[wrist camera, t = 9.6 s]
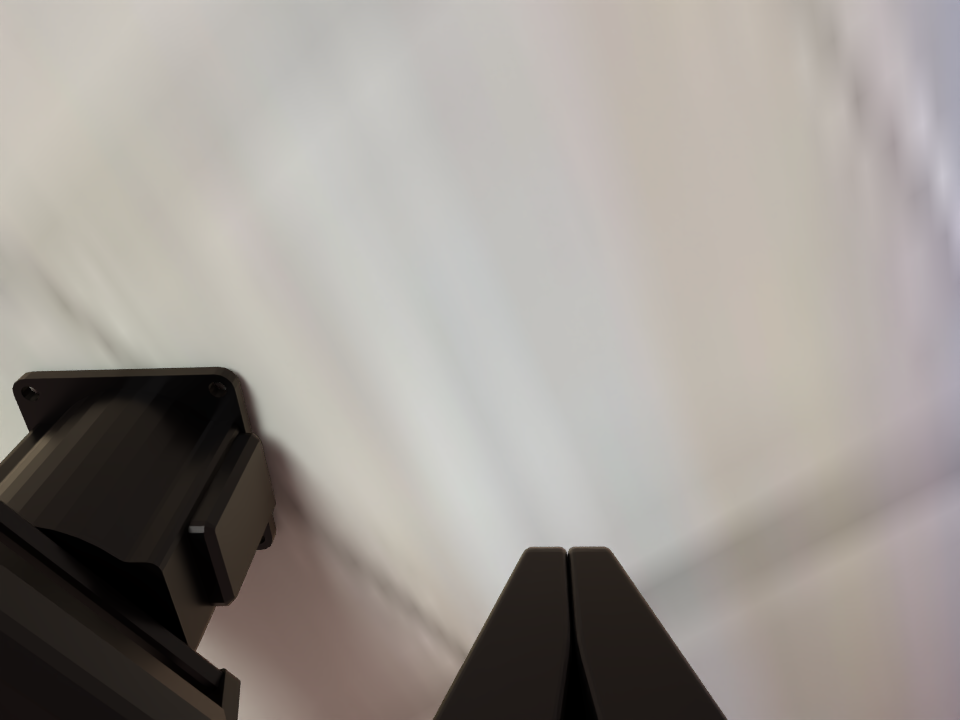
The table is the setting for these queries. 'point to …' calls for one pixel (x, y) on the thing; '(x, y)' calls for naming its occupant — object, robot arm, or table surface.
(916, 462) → the table surface
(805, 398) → the table surface
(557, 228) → the table surface
